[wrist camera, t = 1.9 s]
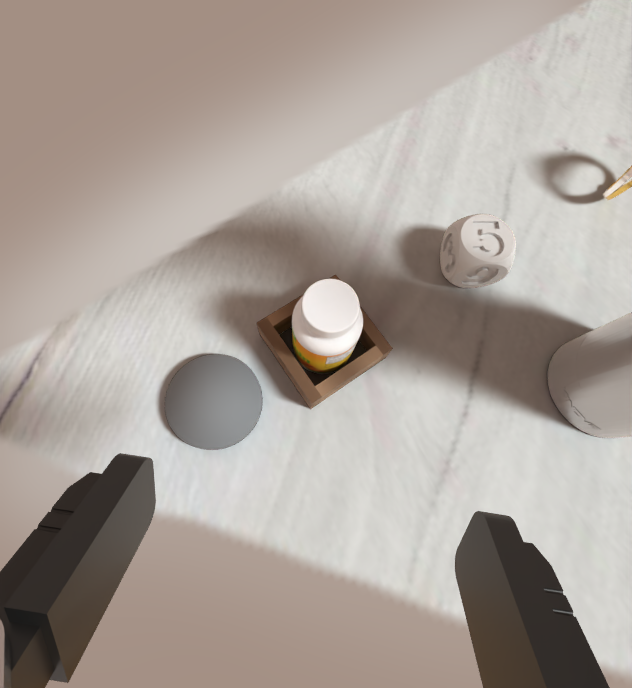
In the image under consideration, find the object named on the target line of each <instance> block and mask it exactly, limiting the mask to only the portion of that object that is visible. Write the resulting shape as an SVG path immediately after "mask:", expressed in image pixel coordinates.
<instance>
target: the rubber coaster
mask: <svg viewBox="0 0 632 688" xmlns="http://www.w3.org/2000/svg"><path fill="white" fill-rule="evenodd" d="M262 399H263V398H262V391H261V387H260V384H259V382H258V380H257V378H256V376H255V374H254V373H253V372H252V370H251V369H250V368H249V367H248V366H247V365H246V364H245V363H243V362H242V361H240V360H238V359H237V358H234V357H232V356H228V355H222V354H211V355H205V356H201V357H198V358H196V359H194V360H192V361H190V362H189V363H187V364H186V365H184V366H183V367H182V368H181V369H180V370H179V371H178V372H177V373H176V374H175V376H174V377H173V379H172V380H171V382H170V384H169V387H168V389H167V392H166V397H165V413H166V417H167V420H168V423H169V425H170V427H171V429H172V430H173V432H174V433H175V434H176V435H177V436H178V437H179V438H180V439H181V440H182V441H184V442H185V443H187V444H189V445H191V446H194V447H197V448H201V449H207V450H218V449H224V448H227V447H230V446H232V445H235V444H236V443H238V442H240V441H241V440H243V439H244V438H245V437H246V436H247V435H248V434H249V433H250V432H251V431H252V430H253V428H254V427H255V425H256V423H257V421H258V419H259V417H260V414H261V410H262Z"/></svg>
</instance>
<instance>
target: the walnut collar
mask: <svg viewBox="0 0 632 688" xmlns="http://www.w3.org/2000/svg"><path fill="white" fill-rule="evenodd" d="M329 279H337V280H340V279H339V278H338V277H337V275H334V276H333V277H331V278H329ZM340 281H341V280H340ZM303 295H304V294H303ZM303 295H301V296H300V297H298V298H297V299H295V300H293V301H292V302H290V303H288V304H287V305H285V306H283V307H282V308H280V309H279V310H277V311H275V312H274V313H272V314H270V315H269V316H267V317H265V318H264V319H262V320H261V321H259V322H257V326H258V330H259V333H260V335H261V337H262V338H263V340H264V341H265V343H266V344H267V346H268V347H269V349H270V350H271V352H272V353H273V355H274V356H275V357H276V359H277V360H278V362H279V363H280V365H281V366H282V368H283V369H284V371H285V372H286V374H287V375H288V377H289V378H290V380H291V381H292V382H293V384H294V385H295V387H296V388H297V390H298V391H299V393H300V394H301V396H302V397H303V399H304V400H305V402H306V403H307V405H308V406H309V407H310V409H311V408H313V407H314V406H316V405H317V404H319V403H320V402H322V401H323V400H325V399H326V398H328V397H329V396H330V395H332V394H333V393H335V392H336V391H338V390H339V389H341V388H342V387H344V386H345V385H347V384H348V383H349V382H351V381H352V380H354V379H355V378H357V377H358V376H360V375H361V374H363V373H364V372H366V371H367V370H368V369H370V368H371V367H373V366H374V365H376V364H377V363H379V362H380V361H382V360H383V359H385V358H386V356H387V355H388V354H389V353H390V351H391V350H392V349H393V348H392V347H391V346H390V344H389V343H388V342H387V340H386V339H385V338H384V337H383V335H382V334H381V333H380V331H379V330H378V329H377V327H376V326H375V325H374V324H373V322H372V321H371V320H370V318H369V317H368V316H367V314H366V313H365V312H364V310H363V309H362V308H361V307H360V309H361V311H362V315H363V328H362V332H361V335H360V337H359V339H358V340H359V341H360V343H361V344H362V345H363V347H364V348H365V349H366V351H367V352H366V353H364V354H363V355H361V356H360V357H358V358H357V359H355V360H354V361H352V362H351V363H349V364H348V365H346V366H345V367H343V368H342V369H340V370H339V371H337V372H336V373H334V374H333V375H331V376H330V377H328V378H327V379H325V380H324V381H322V382H321V383H319V384H318V385H316V386H314V384H313V383H312V382H311V380H310V379H309V377H308V376H307V374H306V373H305V371H304V370H303V369H302V367H301V366H300V364H299V363H298V361H297V360H296V358H295V357H294V356H293V354H292V353H291V351H290V350H289V348H288V347H287V346H286V344H285V343H284V341H283V340H282V338H281V337H280V334H281V333H283V332H284V331H286V330H287V329H289V328H291V327H292V315H293V310H294V308H295V306H296V304H297V302H298V301H299V300H300V298H301V297H302V296H303Z"/></svg>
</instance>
